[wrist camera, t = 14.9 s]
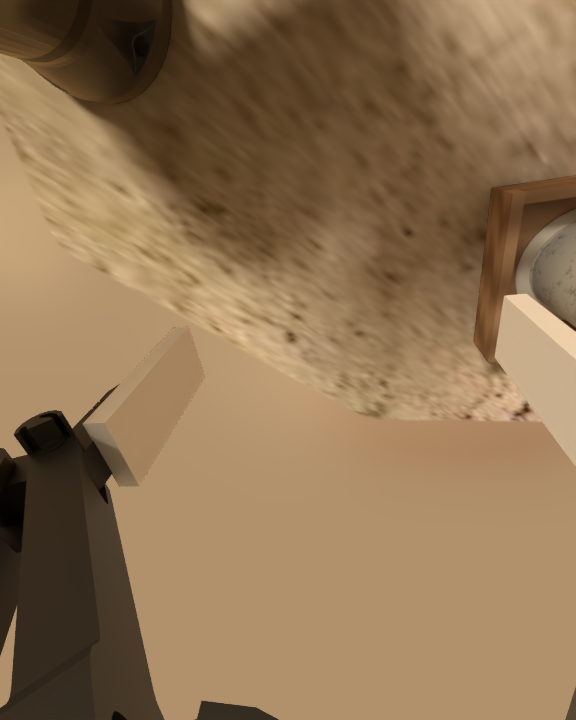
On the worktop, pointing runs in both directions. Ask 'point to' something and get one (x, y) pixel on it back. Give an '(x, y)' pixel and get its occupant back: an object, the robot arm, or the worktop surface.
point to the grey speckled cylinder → (557, 273)
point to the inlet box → (518, 247)
